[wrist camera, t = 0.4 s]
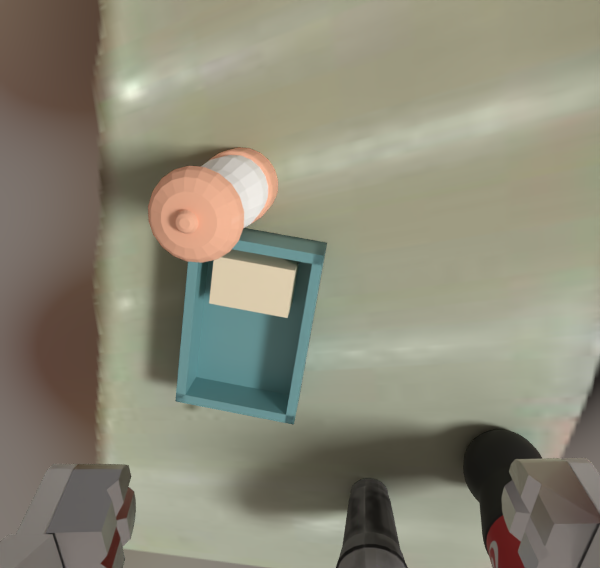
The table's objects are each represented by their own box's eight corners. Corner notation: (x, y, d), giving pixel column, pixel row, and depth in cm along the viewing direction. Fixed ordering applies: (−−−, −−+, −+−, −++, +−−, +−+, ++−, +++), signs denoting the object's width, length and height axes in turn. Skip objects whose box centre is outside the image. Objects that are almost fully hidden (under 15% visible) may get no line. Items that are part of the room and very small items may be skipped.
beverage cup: (409, 482, 63) (432, 643, 44) (384, 526, 65) (395, 696, 46) (353, 460, 63) (352, 611, 44) (330, 504, 65) (319, 666, 46)
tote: (205, 220, 55) (190, 231, 50) (327, 242, 55) (324, 255, 50) (189, 378, 61) (175, 401, 57) (298, 399, 61) (293, 424, 56)
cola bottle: (456, 482, 62) (539, 795, 34) (461, 420, 60) (554, 704, 31) (531, 485, 61) (680, 809, 33) (539, 422, 59) (708, 716, 30)
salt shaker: (226, 229, 55) (163, 289, 37) (195, 164, 53) (113, 194, 35) (289, 203, 54) (255, 252, 36) (260, 135, 52) (208, 150, 34)
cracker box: (223, 245, 55) (214, 256, 51) (299, 259, 54) (295, 270, 51) (218, 290, 56) (209, 303, 53) (292, 303, 56) (287, 317, 52)
